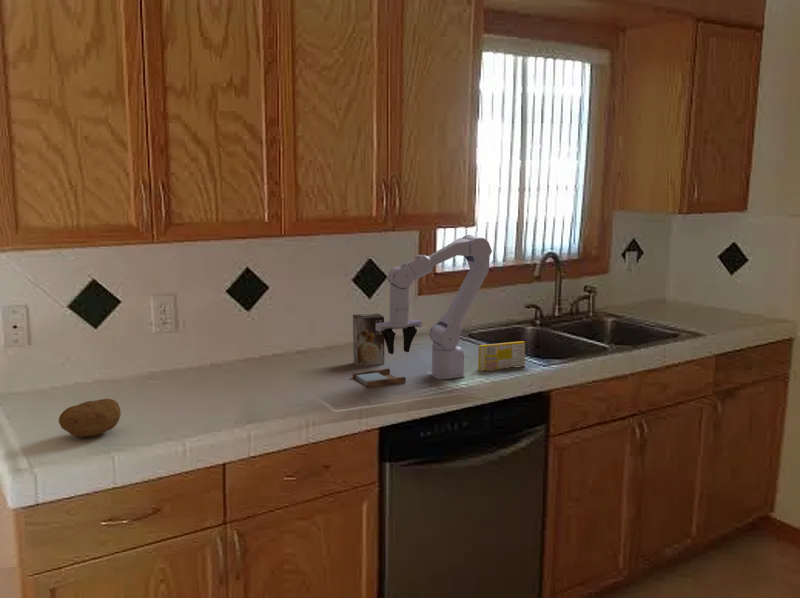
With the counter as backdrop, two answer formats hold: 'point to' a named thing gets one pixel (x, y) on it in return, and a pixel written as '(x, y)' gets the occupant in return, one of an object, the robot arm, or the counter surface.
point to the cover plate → (369, 377)
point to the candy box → (501, 355)
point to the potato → (90, 418)
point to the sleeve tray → (383, 382)
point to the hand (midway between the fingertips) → (398, 352)
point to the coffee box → (367, 340)
